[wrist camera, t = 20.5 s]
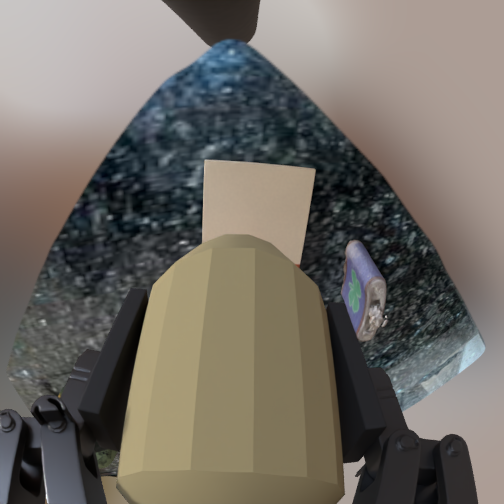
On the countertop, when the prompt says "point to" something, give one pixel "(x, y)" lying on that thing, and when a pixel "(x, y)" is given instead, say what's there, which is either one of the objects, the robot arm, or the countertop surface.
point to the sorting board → (258, 203)
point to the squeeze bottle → (233, 385)
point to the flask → (363, 291)
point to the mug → (105, 458)
